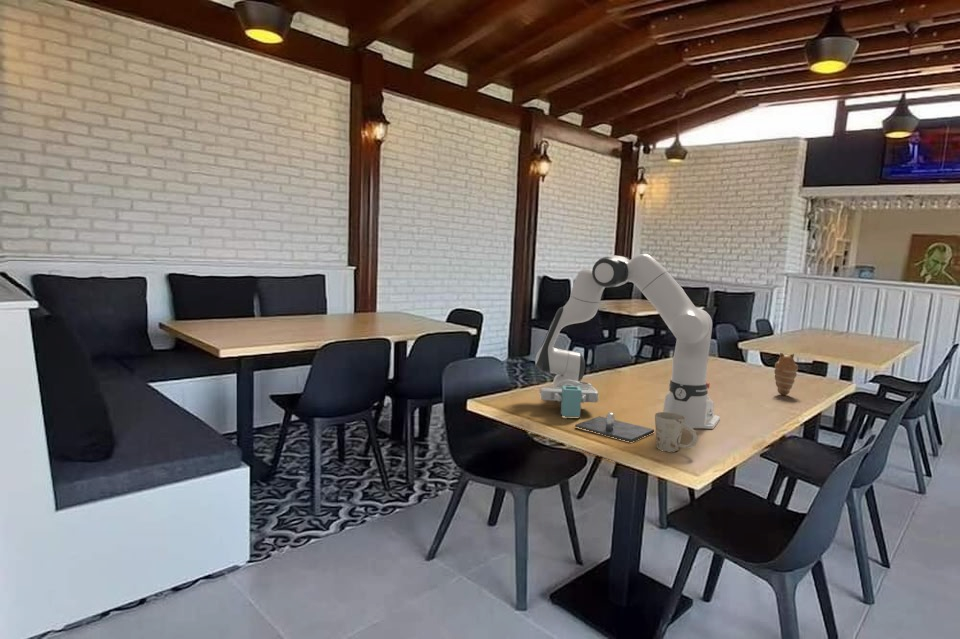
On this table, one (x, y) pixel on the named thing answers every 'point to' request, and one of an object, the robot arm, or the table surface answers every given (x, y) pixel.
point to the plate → (615, 428)
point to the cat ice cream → (785, 373)
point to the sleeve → (571, 401)
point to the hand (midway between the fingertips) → (571, 399)
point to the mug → (671, 431)
